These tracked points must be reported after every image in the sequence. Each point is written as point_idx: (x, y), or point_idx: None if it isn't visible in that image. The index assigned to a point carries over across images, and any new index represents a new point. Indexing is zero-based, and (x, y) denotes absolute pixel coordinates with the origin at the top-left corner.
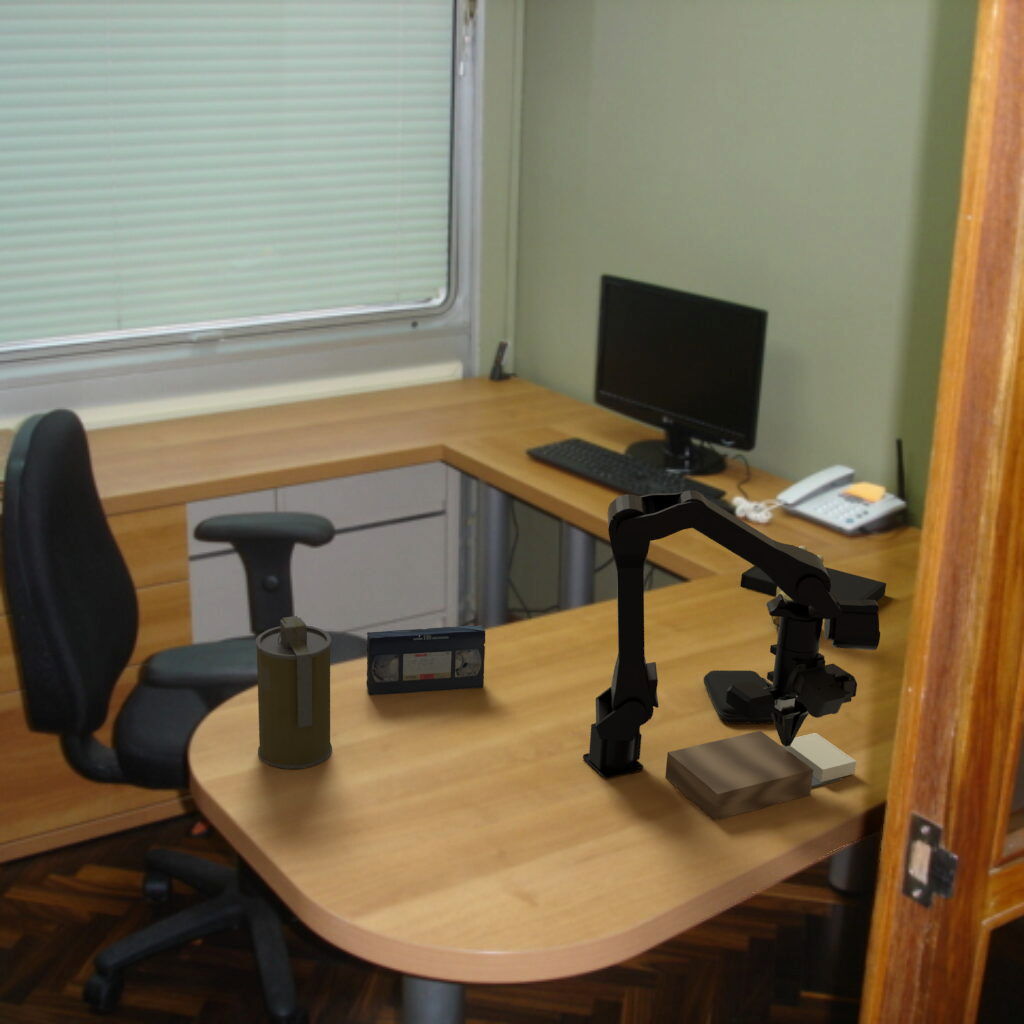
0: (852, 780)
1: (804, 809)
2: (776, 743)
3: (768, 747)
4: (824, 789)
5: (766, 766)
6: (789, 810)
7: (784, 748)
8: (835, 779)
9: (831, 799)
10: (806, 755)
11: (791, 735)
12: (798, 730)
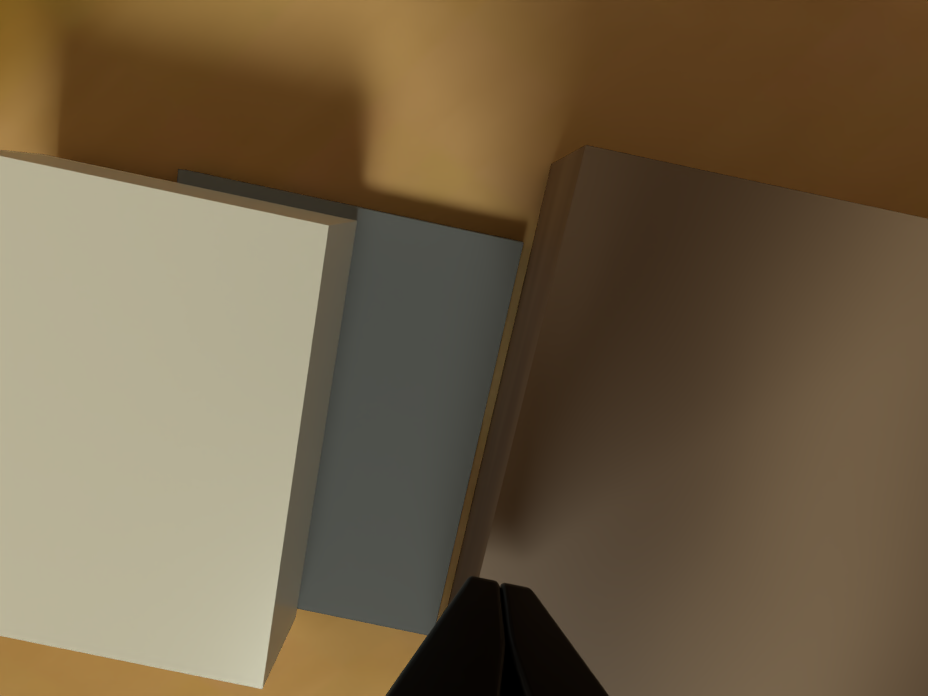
0: (117, 116)
1: (754, 49)
2: None
3: None
4: (395, 156)
5: (923, 481)
6: (855, 110)
7: None
8: (234, 183)
9: (464, 22)
10: (273, 458)
11: (503, 669)
12: (393, 690)
